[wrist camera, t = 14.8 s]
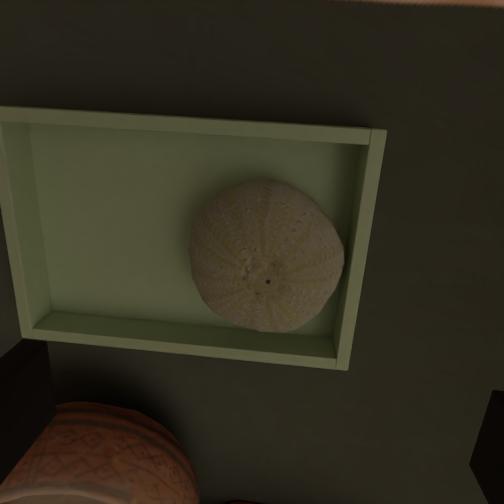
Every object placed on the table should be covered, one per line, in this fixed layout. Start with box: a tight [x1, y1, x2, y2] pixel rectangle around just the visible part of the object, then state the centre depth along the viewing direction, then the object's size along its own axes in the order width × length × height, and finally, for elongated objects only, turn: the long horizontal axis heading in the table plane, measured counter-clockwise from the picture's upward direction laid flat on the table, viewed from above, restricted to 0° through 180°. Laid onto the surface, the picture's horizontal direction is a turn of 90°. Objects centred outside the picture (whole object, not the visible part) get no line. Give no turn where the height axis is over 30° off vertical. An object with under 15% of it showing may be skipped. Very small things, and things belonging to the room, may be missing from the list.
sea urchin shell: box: [188, 179, 345, 333], centre depth 23 cm, size 9×8×8 cm
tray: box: [0, 106, 387, 371], centre depth 25 cm, size 22×15×3 cm
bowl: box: [0, 402, 200, 504], centre depth 28 cm, size 16×16×10 cm
